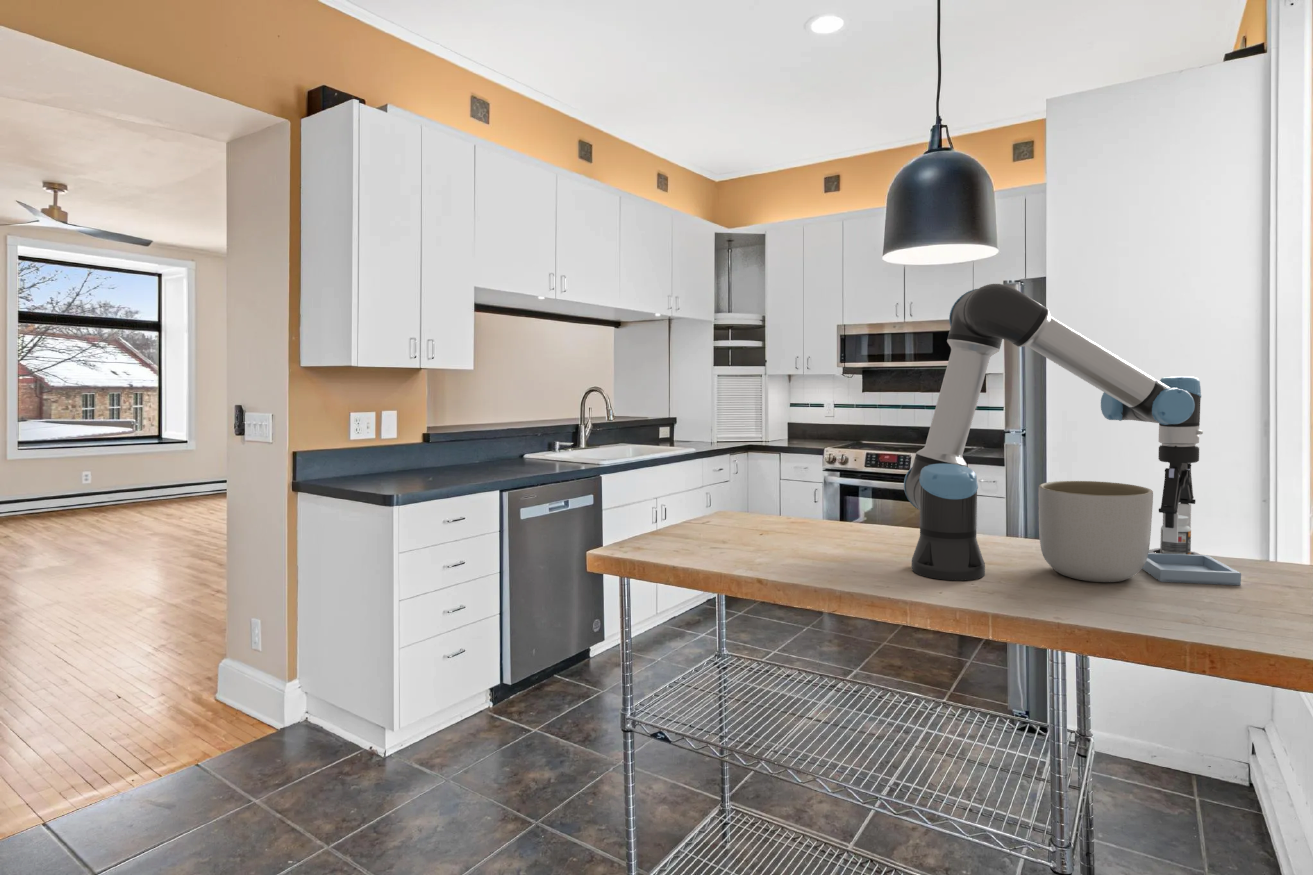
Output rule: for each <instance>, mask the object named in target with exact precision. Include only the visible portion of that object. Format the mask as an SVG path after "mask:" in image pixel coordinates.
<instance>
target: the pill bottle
mask: <svg viewBox="0 0 1313 875" xmlns="http://www.w3.org/2000/svg"><path fill="white" fill-rule="evenodd" d="M1188 522H1189V518H1188V517H1187V516H1182V515H1178V542H1177V543H1174V542H1165V541H1162V538H1163V524H1162V525H1161V526H1160V544H1159V545H1160V547H1159V548H1160V553H1164V554H1191V552H1192V551H1191V547H1192V545H1191V544H1192V539H1191V538H1192V529H1190V527H1189V526H1187V524H1188Z"/></svg>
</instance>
